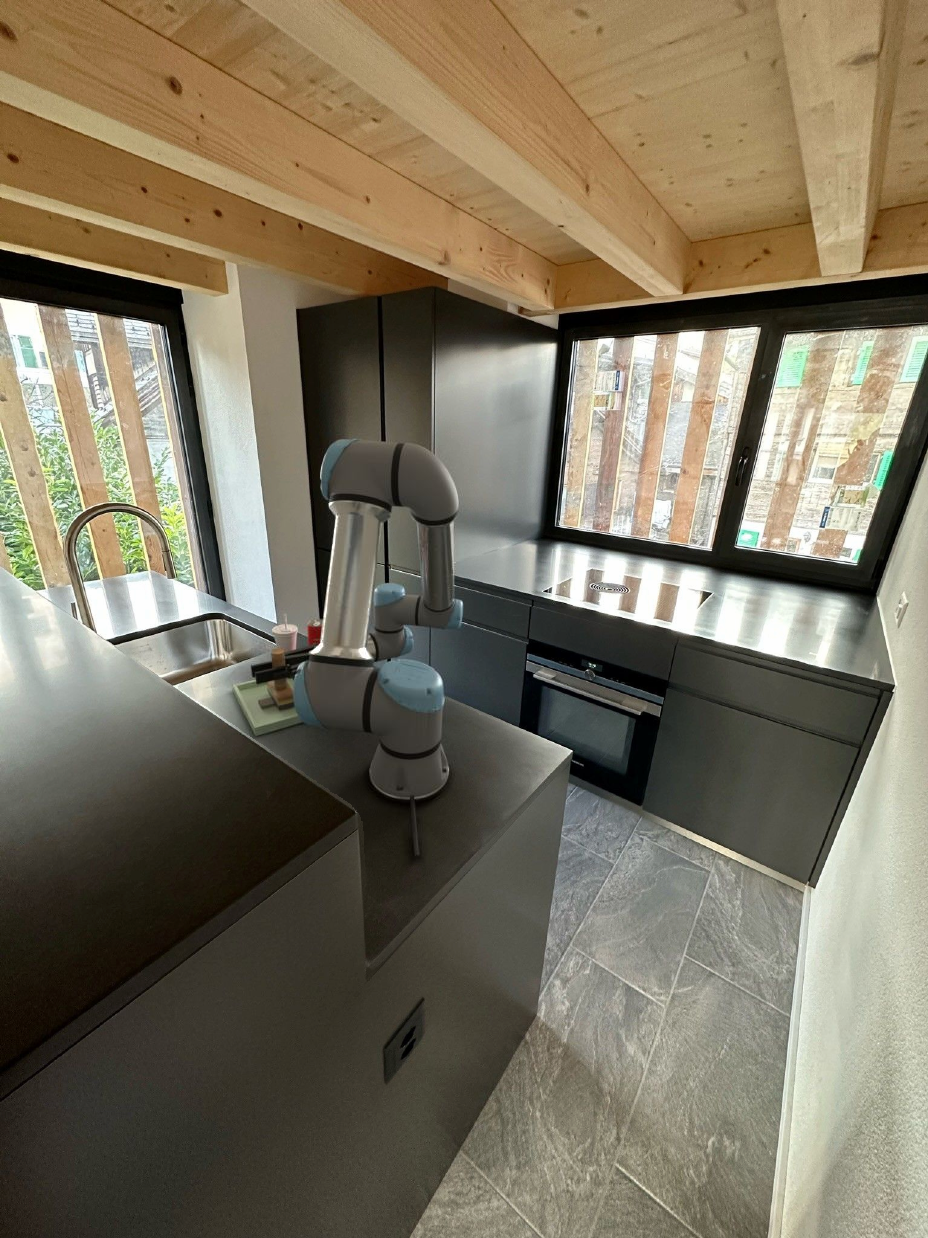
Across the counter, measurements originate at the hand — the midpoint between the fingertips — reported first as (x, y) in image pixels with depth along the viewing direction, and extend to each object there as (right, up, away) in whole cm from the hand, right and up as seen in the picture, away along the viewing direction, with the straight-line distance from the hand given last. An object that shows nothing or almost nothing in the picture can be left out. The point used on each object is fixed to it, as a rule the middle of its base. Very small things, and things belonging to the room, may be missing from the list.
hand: (254, 674), depth 114 cm
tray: (+4, -7, +6) cm, 10 cm away
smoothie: (-1, +1, +24) cm, 24 cm away
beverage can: (+8, 0, +25) cm, 26 cm away
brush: (+4, -6, +6) cm, 10 cm away
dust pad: (+1, -7, +4) cm, 9 cm away
